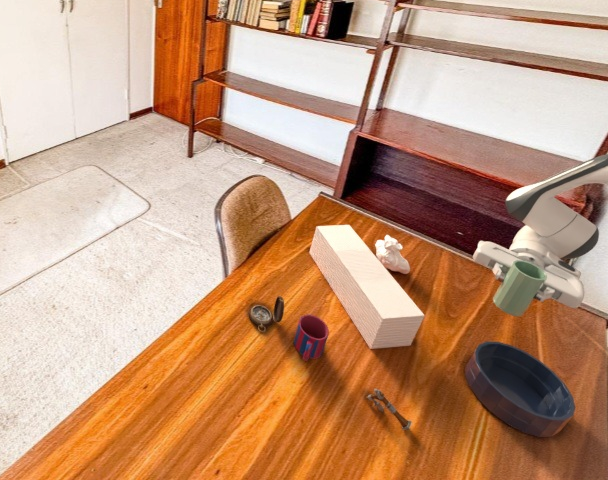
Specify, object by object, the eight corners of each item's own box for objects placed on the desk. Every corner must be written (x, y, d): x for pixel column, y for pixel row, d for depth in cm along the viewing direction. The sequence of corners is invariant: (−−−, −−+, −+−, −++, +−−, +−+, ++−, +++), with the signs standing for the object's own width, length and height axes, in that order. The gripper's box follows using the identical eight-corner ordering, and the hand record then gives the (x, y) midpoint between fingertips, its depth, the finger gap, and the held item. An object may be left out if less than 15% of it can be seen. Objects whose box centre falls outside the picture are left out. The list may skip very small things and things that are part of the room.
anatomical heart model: (370, 256, 127) (360, 238, 122) (389, 241, 127) (380, 223, 121) (400, 285, 117) (391, 267, 111) (421, 269, 117) (413, 251, 111)
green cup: (509, 295, 99) (531, 260, 94) (530, 316, 94) (554, 280, 89) (486, 295, 99) (506, 259, 94) (506, 316, 94) (528, 279, 89)
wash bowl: (513, 359, 95) (525, 341, 92) (582, 438, 80) (599, 420, 77) (447, 359, 94) (457, 341, 91) (504, 438, 79) (518, 420, 77)
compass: (248, 305, 106) (252, 285, 103) (278, 311, 105) (283, 291, 102) (248, 331, 99) (252, 311, 96) (280, 338, 98) (286, 318, 94)
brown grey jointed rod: (364, 390, 86) (378, 384, 83) (396, 425, 83) (412, 421, 80) (361, 396, 85) (376, 391, 82) (394, 432, 82) (410, 428, 79)
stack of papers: (410, 345, 97) (425, 315, 92) (370, 349, 96) (383, 318, 91) (340, 251, 126) (349, 224, 121) (309, 252, 125) (316, 226, 120)
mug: (325, 343, 97) (332, 324, 94) (313, 376, 89) (320, 356, 86) (298, 328, 100) (304, 309, 97) (284, 358, 93) (290, 339, 90)
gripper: (485, 229, 107) (471, 253, 99) (590, 275, 93) (585, 307, 85) (476, 247, 110) (462, 271, 101) (577, 294, 96) (570, 327, 88)
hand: (519, 288), depth 93 cm, fingers closed on green cup, 6 cm apart
